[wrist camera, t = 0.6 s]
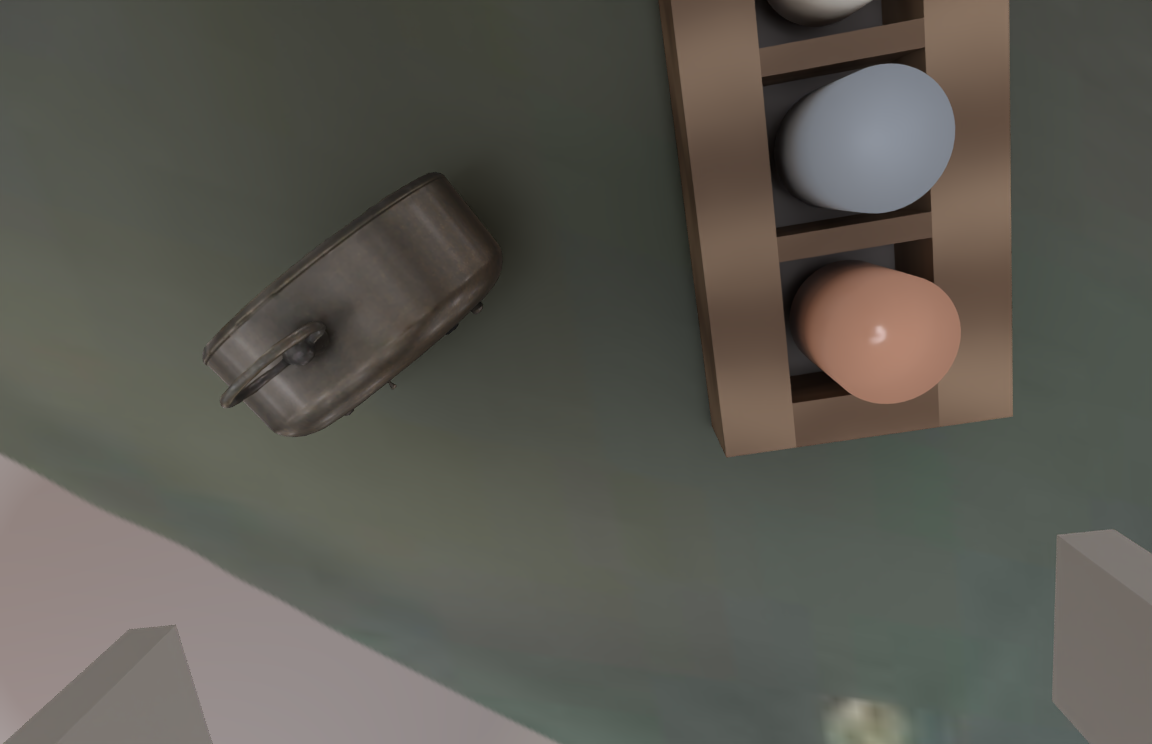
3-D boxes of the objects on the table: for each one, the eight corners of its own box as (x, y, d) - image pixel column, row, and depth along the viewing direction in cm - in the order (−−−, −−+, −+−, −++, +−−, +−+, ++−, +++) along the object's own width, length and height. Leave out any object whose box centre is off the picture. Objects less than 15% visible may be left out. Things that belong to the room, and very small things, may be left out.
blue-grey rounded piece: (768, 96, 28) (803, 78, 23) (890, 74, 27) (953, 51, 23) (779, 217, 29) (815, 224, 24) (896, 197, 29) (957, 200, 24)
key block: (641, -132, 28) (648, -183, 24) (948, -197, 27) (1006, -260, 23) (712, 426, 34) (726, 457, 30) (964, 389, 33) (1012, 416, 29)
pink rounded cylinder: (784, 269, 30) (820, 286, 25) (899, 250, 29) (958, 264, 24) (794, 376, 31) (830, 412, 26) (905, 360, 30) (962, 393, 26)
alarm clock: (465, 166, 31) (330, 148, 15) (539, 263, 32) (483, 337, 16) (290, 311, 33) (13, 426, 17) (365, 398, 34) (167, 579, 18)
